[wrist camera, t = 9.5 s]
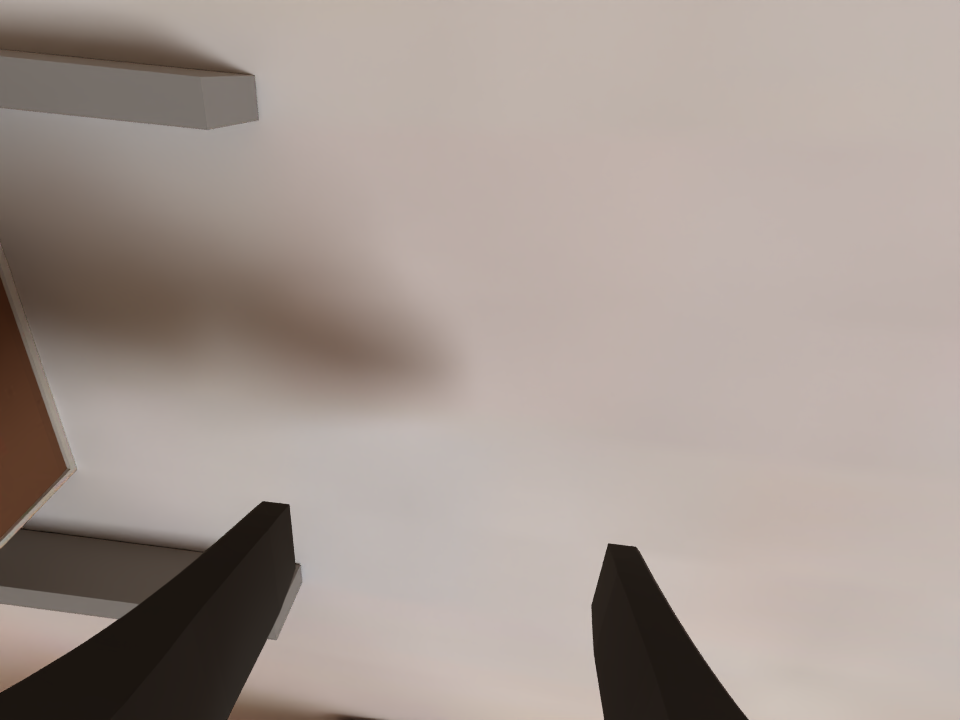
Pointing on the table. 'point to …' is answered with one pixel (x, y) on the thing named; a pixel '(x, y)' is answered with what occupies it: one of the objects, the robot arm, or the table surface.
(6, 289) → the food container
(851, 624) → the table surface
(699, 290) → the table surface
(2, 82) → the dock
